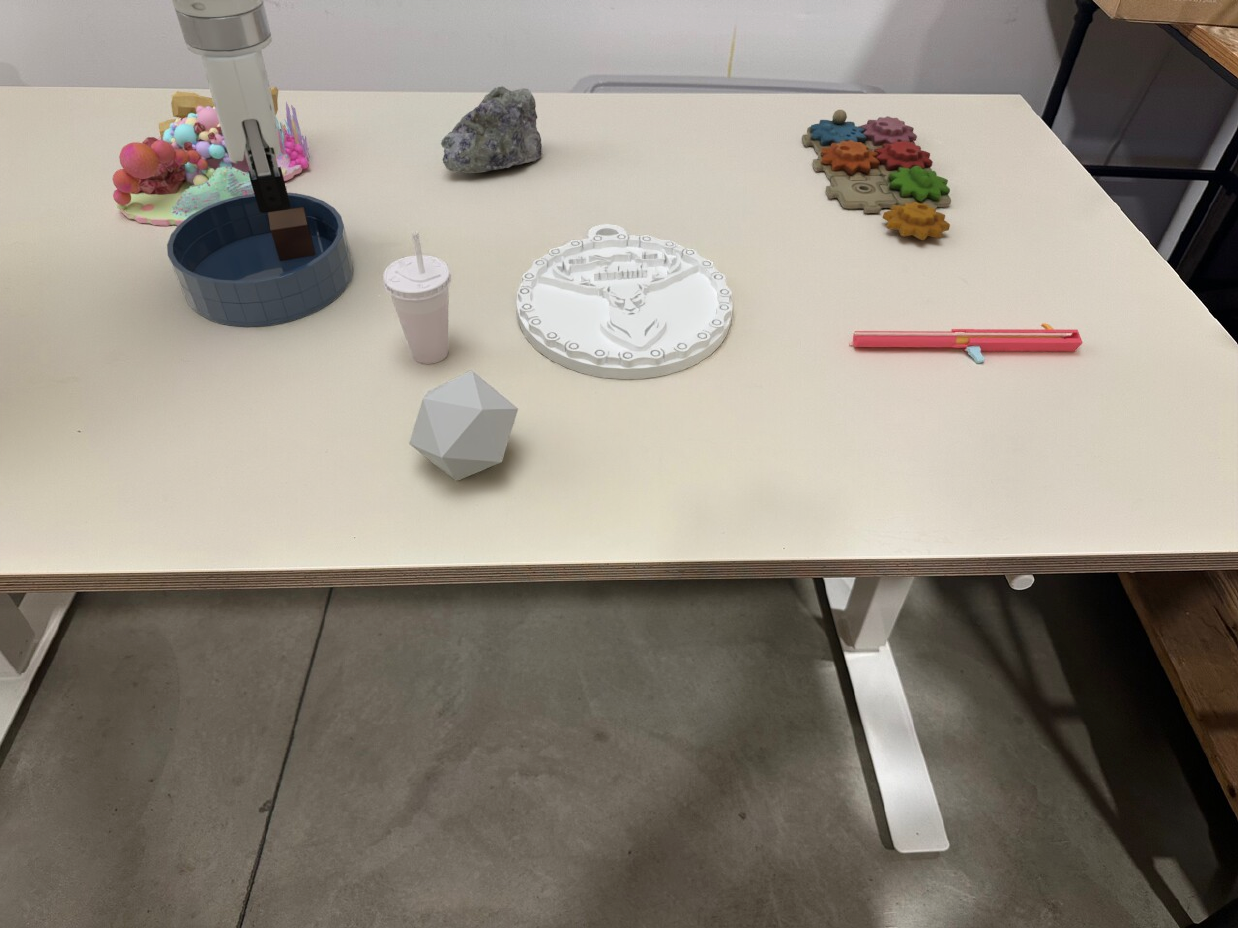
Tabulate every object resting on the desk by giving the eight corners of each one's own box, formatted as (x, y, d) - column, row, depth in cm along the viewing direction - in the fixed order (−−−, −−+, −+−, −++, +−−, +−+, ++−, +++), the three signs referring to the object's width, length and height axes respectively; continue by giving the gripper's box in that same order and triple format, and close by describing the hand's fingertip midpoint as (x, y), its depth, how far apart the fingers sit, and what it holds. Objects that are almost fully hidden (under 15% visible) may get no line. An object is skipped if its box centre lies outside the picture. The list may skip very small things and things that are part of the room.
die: (480, 414, 84) (404, 361, 77) (549, 406, 78) (474, 348, 71) (454, 494, 81) (372, 446, 73) (524, 492, 75) (443, 440, 68)
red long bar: (1077, 367, 91) (1067, 330, 93) (1088, 357, 89) (1077, 319, 91) (852, 367, 90) (846, 329, 92) (858, 356, 88) (852, 318, 90)
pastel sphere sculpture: (127, 142, 118) (99, 74, 112) (304, 122, 124) (288, 56, 117) (114, 238, 102) (81, 165, 95) (319, 210, 107) (301, 139, 101)
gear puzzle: (979, 247, 105) (990, 217, 102) (849, 249, 104) (857, 219, 101) (903, 130, 126) (911, 102, 124) (795, 131, 125) (800, 103, 122)
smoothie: (450, 376, 86) (431, 255, 76) (389, 367, 87) (362, 247, 77) (469, 337, 91) (453, 218, 81) (410, 329, 91) (388, 210, 81)
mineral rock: (444, 183, 113) (433, 107, 106) (449, 144, 120) (439, 71, 113) (542, 181, 114) (539, 106, 106) (541, 143, 121) (538, 70, 114)
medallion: (526, 389, 85) (525, 370, 84) (507, 240, 104) (506, 223, 102) (755, 369, 88) (759, 351, 87) (698, 228, 107) (700, 211, 105)
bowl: (188, 342, 89) (169, 298, 85) (181, 249, 101) (165, 207, 97) (365, 307, 94) (355, 264, 90) (340, 223, 106) (330, 181, 102)
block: (279, 261, 99) (270, 230, 96) (276, 242, 101) (267, 212, 98) (315, 255, 100) (307, 224, 97) (311, 237, 102) (303, 206, 99)
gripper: (178, 1, 83) (232, 180, 96) (184, 60, 73) (243, 250, 86) (260, -5, 85) (302, 170, 98) (276, 52, 75) (320, 238, 88)
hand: (274, 207), depth 92 cm, fingers closed
